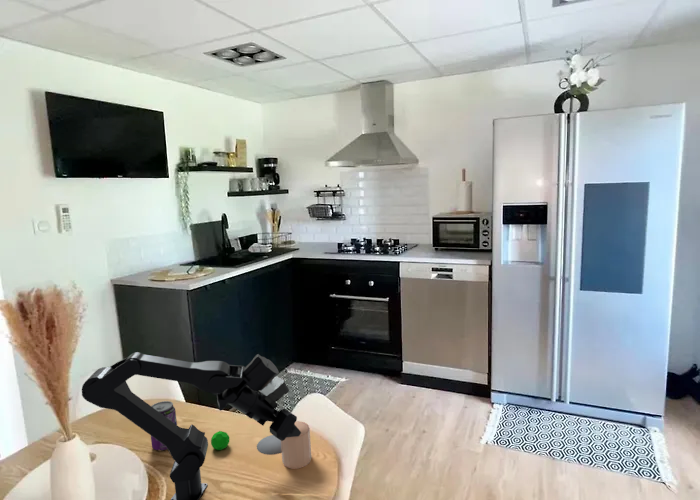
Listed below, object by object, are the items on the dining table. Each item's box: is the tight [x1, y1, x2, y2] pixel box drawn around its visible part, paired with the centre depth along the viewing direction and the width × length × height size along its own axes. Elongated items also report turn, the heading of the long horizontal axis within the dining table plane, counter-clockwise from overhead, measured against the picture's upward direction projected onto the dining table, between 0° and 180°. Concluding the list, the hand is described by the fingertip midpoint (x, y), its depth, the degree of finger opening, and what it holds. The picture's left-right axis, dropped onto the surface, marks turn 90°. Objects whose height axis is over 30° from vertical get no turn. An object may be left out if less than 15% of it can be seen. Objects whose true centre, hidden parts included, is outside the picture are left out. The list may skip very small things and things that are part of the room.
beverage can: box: [150, 400, 178, 451], centre depth 125 cm, size 7×7×12 cm
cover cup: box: [281, 420, 313, 470], centre depth 115 cm, size 7×7×9 cm
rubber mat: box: [256, 434, 282, 456], centre depth 124 cm, size 10×10×1 cm
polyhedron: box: [210, 430, 230, 451], centre depth 123 cm, size 5×5×5 cm
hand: (290, 427), depth 114 cm, fingers open, 9 cm apart
